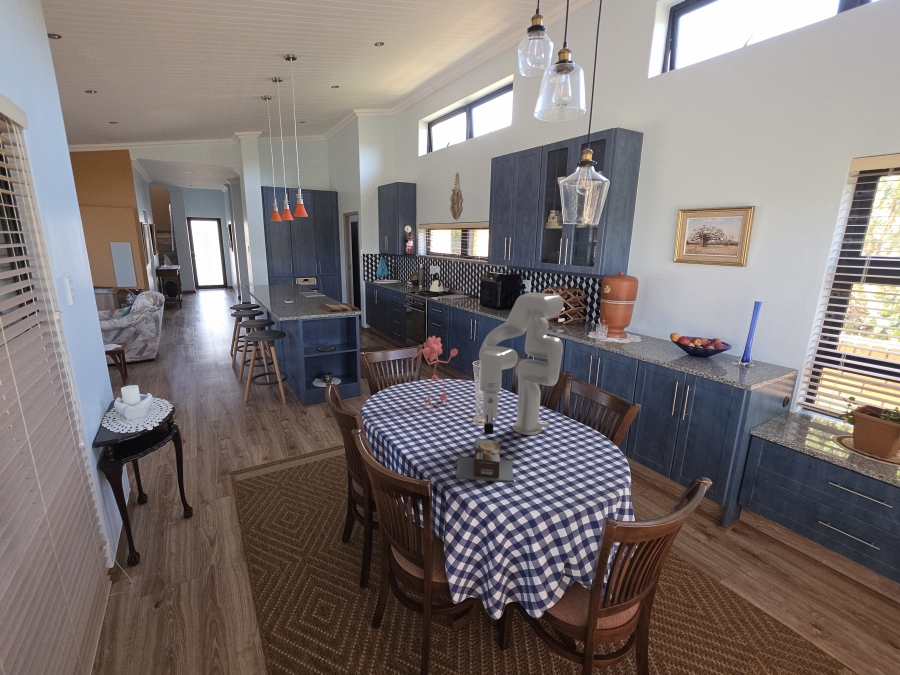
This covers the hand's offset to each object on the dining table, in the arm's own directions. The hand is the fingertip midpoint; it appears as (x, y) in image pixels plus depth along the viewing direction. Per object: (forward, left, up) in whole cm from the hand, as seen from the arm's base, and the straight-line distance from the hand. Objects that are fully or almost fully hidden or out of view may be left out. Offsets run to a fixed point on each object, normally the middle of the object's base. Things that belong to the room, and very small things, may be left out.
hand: (488, 433), depth 160 cm
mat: (+1, +5, -12) cm, 13 cm away
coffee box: (0, -5, -8) cm, 10 cm away
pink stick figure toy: (+27, -57, -12) cm, 64 cm away
